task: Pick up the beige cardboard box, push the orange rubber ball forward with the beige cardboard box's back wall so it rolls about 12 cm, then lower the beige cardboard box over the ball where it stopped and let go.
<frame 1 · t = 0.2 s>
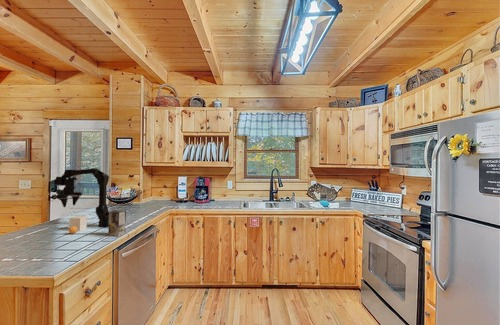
hand: (69, 206, 200), 14 cm above the worktop, tool pointing down, fingers open, 9 cm apart
ball: (73, 229, 179), on the worktop
coffee box: (116, 234, 180), on the worktop
beige cardboard box: (78, 229, 190), on the worktop
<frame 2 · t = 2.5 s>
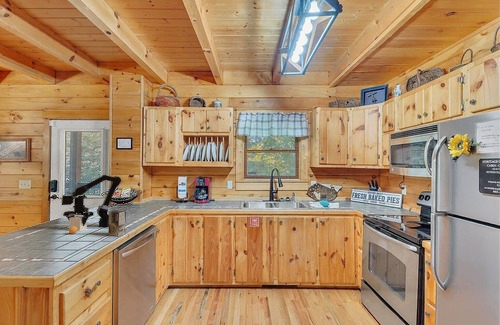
hand: (78, 225, 190), 3 cm above the worktop, tool pointing down, fingers closed on beige cardboard box, 8 cm apart
beige cardboard box: (78, 229, 190), on the worktop, touching gripper
everything else where it was.
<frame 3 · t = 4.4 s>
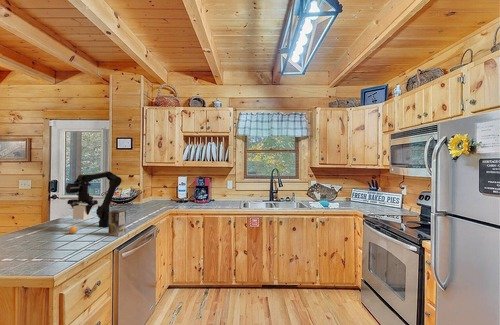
hand: (82, 214, 185), 12 cm above the worktop, tool pointing down, fingers closed on beige cardboard box, 8 cm apart
beige cardboard box: (82, 217, 185), point 9 cm above the worktop, touching gripper
everything else where it was.
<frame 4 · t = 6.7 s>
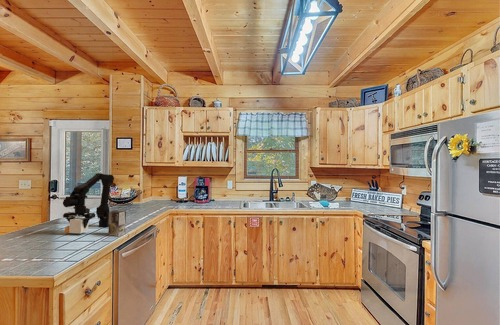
hand: (79, 227, 178), 4 cm above the worktop, tool pointing down, fingers closed on beige cardboard box, 8 cm apart
ball: (69, 229, 179), on the worktop
beige cardboard box: (78, 231, 178), point 2 cm above the worktop, touching gripper
everything else where it was.
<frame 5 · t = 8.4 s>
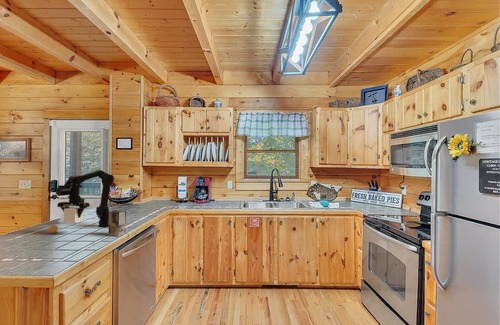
hand: (73, 217, 178), 11 cm above the worktop, tool pointing down, fingers closed on beige cardboard box, 8 cm apart
ball: (53, 229, 178), on the worktop
beige cardboard box: (72, 221, 178), point 9 cm above the worktop, touching gripper
everything else where it was.
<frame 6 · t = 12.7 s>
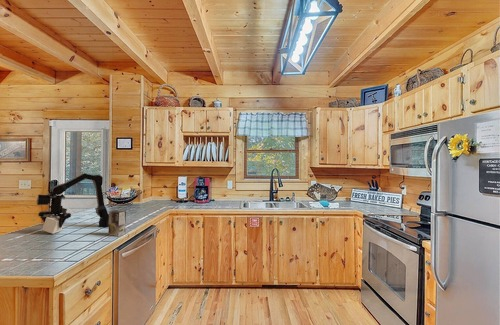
hand: (53, 227, 178), 4 cm above the worktop, tool pointing down
ball: (51, 229, 178), on the worktop, touching beige cardboard box
beige cardboard box: (51, 230, 178), point 2 cm above the worktop, tilted 17°, touching ball, gripper
everything else where it was.
when the fingers open (4 cm above the worktop, at t = 14.6 s): beige cardboard box drops 2 cm, on the worktop.
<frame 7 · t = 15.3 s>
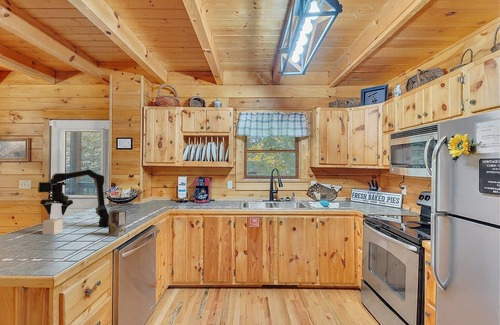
hand: (56, 214, 179), 12 cm above the worktop, tool pointing down, fingers open, 9 cm apart
ball: (53, 229, 178), on the worktop
beige cardboard box: (52, 232, 178), on the worktop
everything else where it was.
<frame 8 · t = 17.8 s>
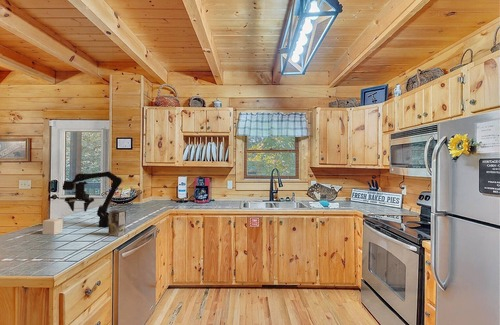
hand: (79, 211, 195), 12 cm above the worktop, tool pointing down, fingers open, 9 cm apart
nothing on the worktop moved.
at the end: ball 0.3 cm from the beige cardboard box (horizontally); beige cardboard box on the worktop; ball moved 13.6 cm from its start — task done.
